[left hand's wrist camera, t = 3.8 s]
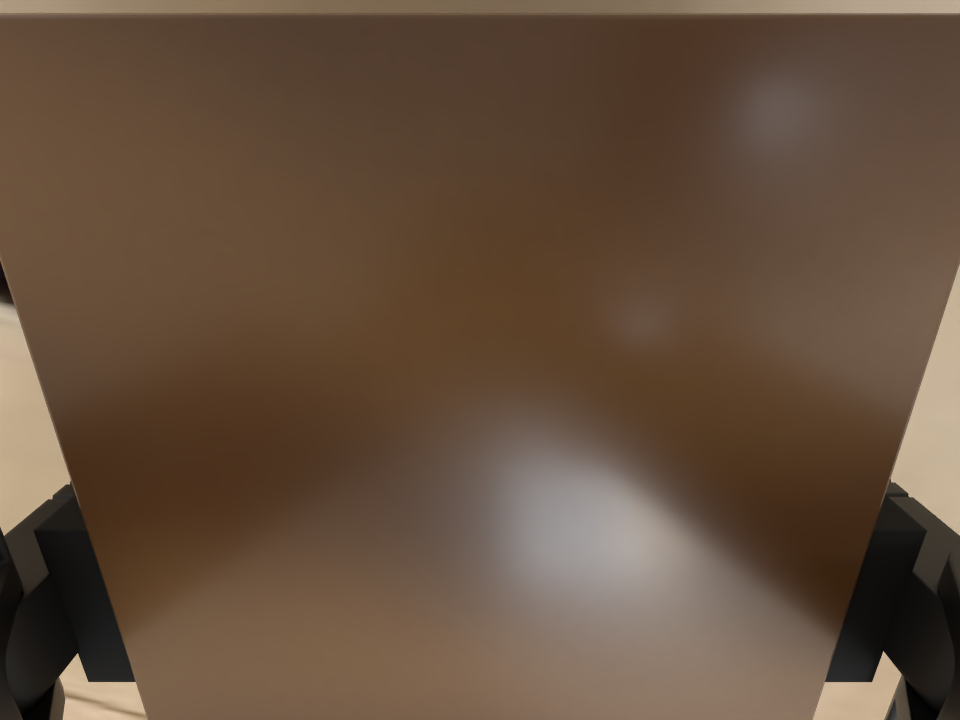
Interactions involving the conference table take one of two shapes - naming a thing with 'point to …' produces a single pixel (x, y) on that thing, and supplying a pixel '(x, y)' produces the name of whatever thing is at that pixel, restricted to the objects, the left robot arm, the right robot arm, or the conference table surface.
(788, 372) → the thick board
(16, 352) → the conference table surface
